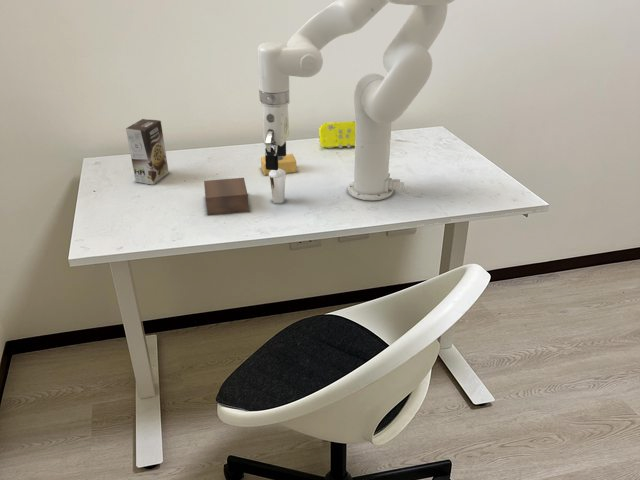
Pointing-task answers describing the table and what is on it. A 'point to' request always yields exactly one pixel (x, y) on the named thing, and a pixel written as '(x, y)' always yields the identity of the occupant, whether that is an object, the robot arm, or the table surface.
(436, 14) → the robot arm
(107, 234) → the table surface
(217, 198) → the brown square block
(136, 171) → the coffee box
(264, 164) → the rubber stamp
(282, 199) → the milkshake
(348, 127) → the yellow toy chassis
